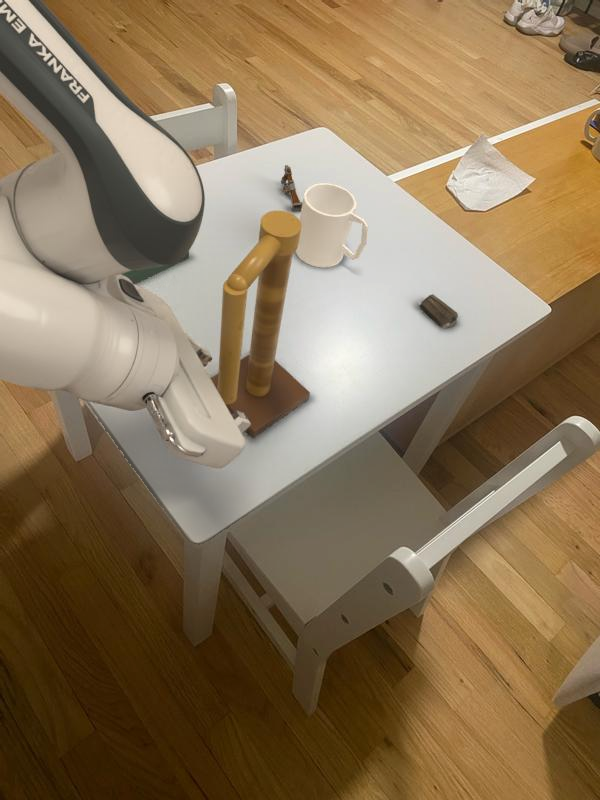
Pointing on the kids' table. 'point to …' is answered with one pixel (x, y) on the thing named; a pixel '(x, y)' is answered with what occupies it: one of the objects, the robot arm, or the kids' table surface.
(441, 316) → the block
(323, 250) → the cup
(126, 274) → the button block
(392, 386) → the kids' table surface
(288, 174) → the wooden post with brackets
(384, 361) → the kids' table surface
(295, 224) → the bent wooden pipe
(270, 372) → the paper towel holder
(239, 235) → the kids' table surface
